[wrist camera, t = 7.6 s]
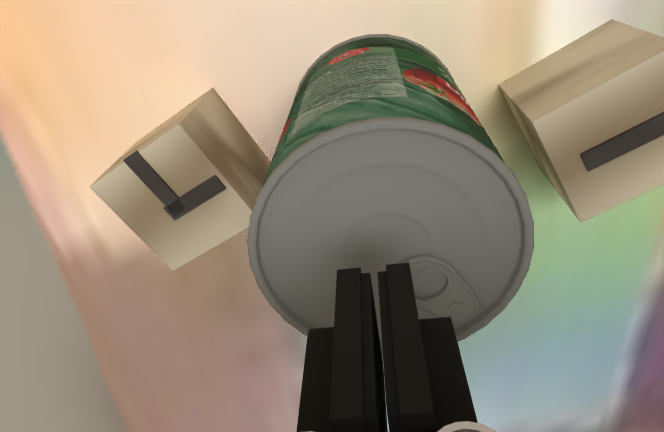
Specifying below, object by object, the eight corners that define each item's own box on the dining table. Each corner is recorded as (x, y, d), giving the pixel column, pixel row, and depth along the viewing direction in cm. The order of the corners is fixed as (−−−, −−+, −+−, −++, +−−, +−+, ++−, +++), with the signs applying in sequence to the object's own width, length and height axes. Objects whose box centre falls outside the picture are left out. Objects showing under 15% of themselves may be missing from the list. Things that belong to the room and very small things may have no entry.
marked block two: (277, 170, 24) (259, 222, 20) (203, 214, 26) (171, 272, 22) (212, 85, 22) (175, 123, 18) (135, 139, 24) (85, 186, 20)
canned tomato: (259, 126, 23) (190, 262, 14) (372, -8, 20) (383, 47, 11) (378, 222, 26) (390, 393, 16) (496, 115, 22) (596, 251, 13)
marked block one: (646, 116, 22) (717, 162, 18) (540, 169, 24) (581, 224, 19) (610, 19, 20) (680, 43, 16) (498, 84, 22) (533, 123, 17)
